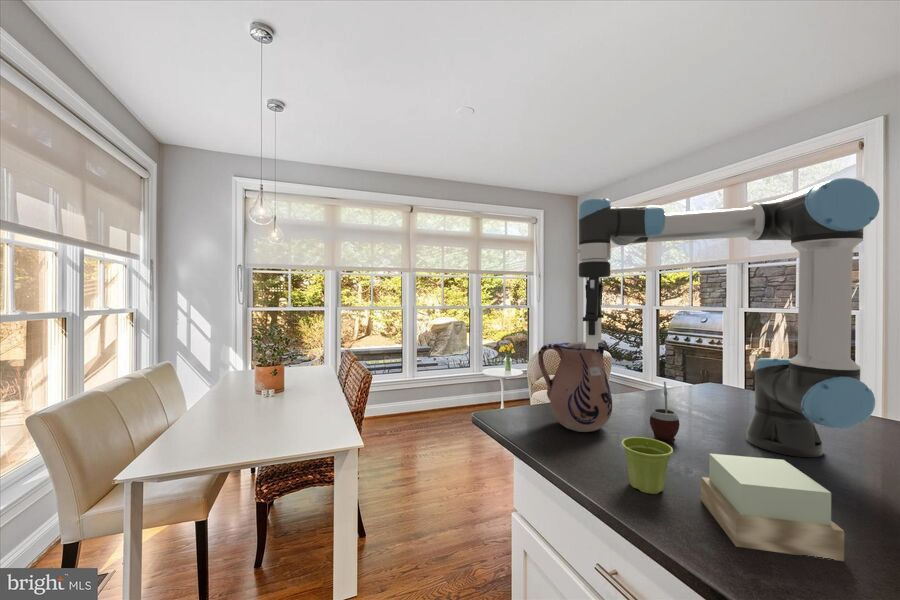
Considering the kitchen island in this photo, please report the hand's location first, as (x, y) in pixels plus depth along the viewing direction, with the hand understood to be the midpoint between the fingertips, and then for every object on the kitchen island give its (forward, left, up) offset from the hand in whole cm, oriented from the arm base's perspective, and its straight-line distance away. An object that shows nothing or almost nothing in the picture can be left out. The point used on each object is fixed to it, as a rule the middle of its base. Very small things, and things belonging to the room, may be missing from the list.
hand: (593, 345), depth 97 cm
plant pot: (-8, +17, -27) cm, 33 cm away
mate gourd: (-19, -12, -27) cm, 36 cm away
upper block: (-25, +27, -22) cm, 43 cm away
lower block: (-24, +27, -27) cm, 46 cm away
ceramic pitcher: (+4, -17, -27) cm, 32 cm away
